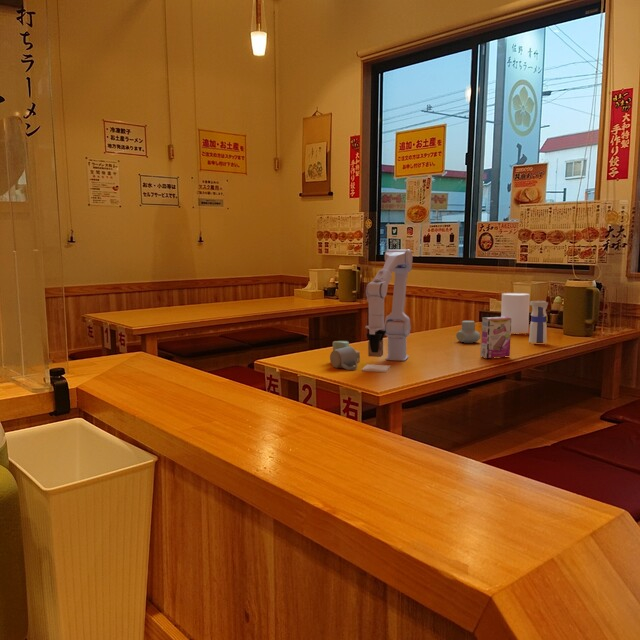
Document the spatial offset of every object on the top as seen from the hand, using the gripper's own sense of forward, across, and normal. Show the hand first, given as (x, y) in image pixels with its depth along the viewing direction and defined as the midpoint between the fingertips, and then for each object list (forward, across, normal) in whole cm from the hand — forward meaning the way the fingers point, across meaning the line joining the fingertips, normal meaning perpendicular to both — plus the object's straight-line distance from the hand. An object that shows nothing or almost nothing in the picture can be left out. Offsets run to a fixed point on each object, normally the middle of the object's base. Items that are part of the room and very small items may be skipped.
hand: (376, 351), depth 220 cm
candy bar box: (+7, -34, +42) cm, 54 cm away
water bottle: (+7, -74, +60) cm, 96 cm away
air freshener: (+7, -69, +29) cm, 75 cm away
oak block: (+7, -12, -12) cm, 18 cm away
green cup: (+7, -9, -16) cm, 20 cm away
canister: (+7, -105, +50) cm, 116 cm away
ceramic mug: (+7, 0, -12) cm, 14 cm away
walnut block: (+2, 0, 0) cm, 2 cm away
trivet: (+7, 0, 0) cm, 7 cm away
